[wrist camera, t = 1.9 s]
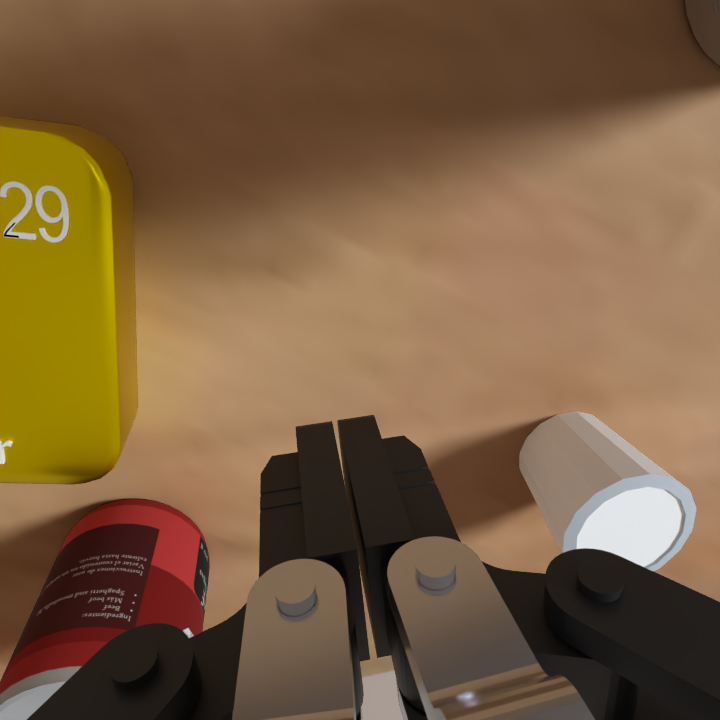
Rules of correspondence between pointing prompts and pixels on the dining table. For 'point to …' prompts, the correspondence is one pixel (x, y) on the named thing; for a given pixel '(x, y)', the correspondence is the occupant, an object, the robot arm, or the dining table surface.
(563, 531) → the white piece
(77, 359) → the element tile
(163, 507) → the canned food
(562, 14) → the dining table surface
